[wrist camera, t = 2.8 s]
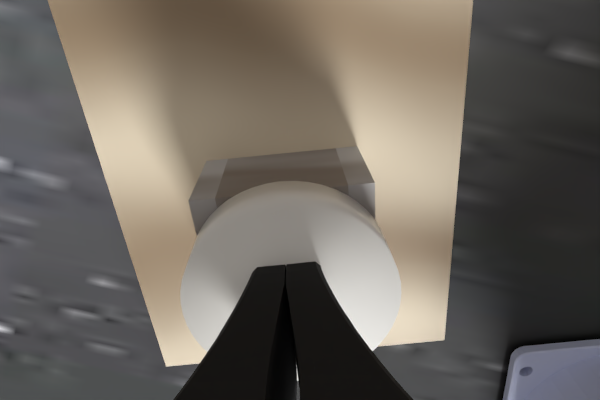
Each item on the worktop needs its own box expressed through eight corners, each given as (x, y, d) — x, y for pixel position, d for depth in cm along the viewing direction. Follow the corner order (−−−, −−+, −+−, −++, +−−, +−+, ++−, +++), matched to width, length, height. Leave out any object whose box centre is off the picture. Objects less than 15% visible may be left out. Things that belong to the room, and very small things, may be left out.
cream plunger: (370, 276, 14) (399, 371, 10) (223, 290, 14) (203, 390, 10) (367, 134, 11) (403, 194, 8) (193, 151, 12) (156, 218, 8)
